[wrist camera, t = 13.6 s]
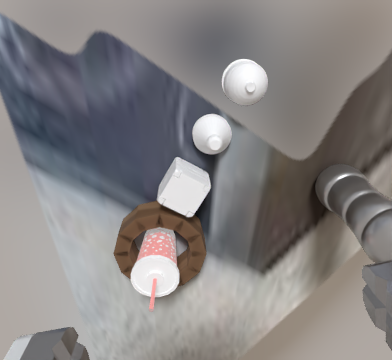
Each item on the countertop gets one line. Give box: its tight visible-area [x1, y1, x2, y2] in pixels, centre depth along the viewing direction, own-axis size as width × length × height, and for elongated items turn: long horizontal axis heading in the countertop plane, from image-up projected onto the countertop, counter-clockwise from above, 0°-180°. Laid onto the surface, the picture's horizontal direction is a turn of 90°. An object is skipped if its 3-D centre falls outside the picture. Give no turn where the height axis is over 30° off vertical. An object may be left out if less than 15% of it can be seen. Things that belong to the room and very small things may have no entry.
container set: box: [157, 59, 268, 217], centre depth 39 cm, size 20×5×6 cm, turn 150°
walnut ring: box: [114, 201, 206, 286], centre depth 46 cm, size 12×12×4 cm
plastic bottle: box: [315, 164, 392, 263], centre depth 36 cm, size 6×7×20 cm
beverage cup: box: [131, 227, 179, 312], centre depth 41 cm, size 6×6×14 cm
